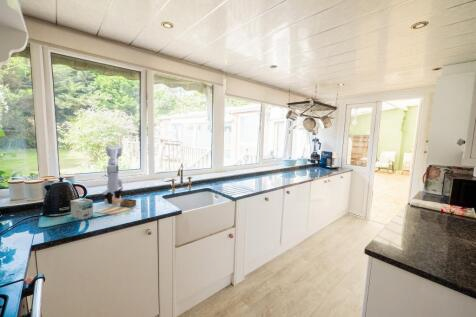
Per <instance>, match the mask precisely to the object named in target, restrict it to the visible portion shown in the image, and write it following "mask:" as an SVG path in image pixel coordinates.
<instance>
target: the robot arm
mask: <svg viewBox="0 0 476 317" xmlns="http://www.w3.org/2000/svg"><path fill="white" fill-rule="evenodd" d="M122 149H123V148H122V145H106V147H105V152H106V156H107V157H108V160H107V161H108V162H107V166H106V173H107V174H106V175H107V184H106V186H107V187H106V188H107V189H106V190H104V191H102V195H103V196H104V197H105V199H107V201H108V203H107V204H109V205H113V204H112V197H114V198H122V197H121V195H122V194H123V190H124V187H123V180H122V178H119V170H120V169H119V168H120V167H119V157H121V156H122V153H123V152H122V151H123V150H122Z"/></svg>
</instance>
